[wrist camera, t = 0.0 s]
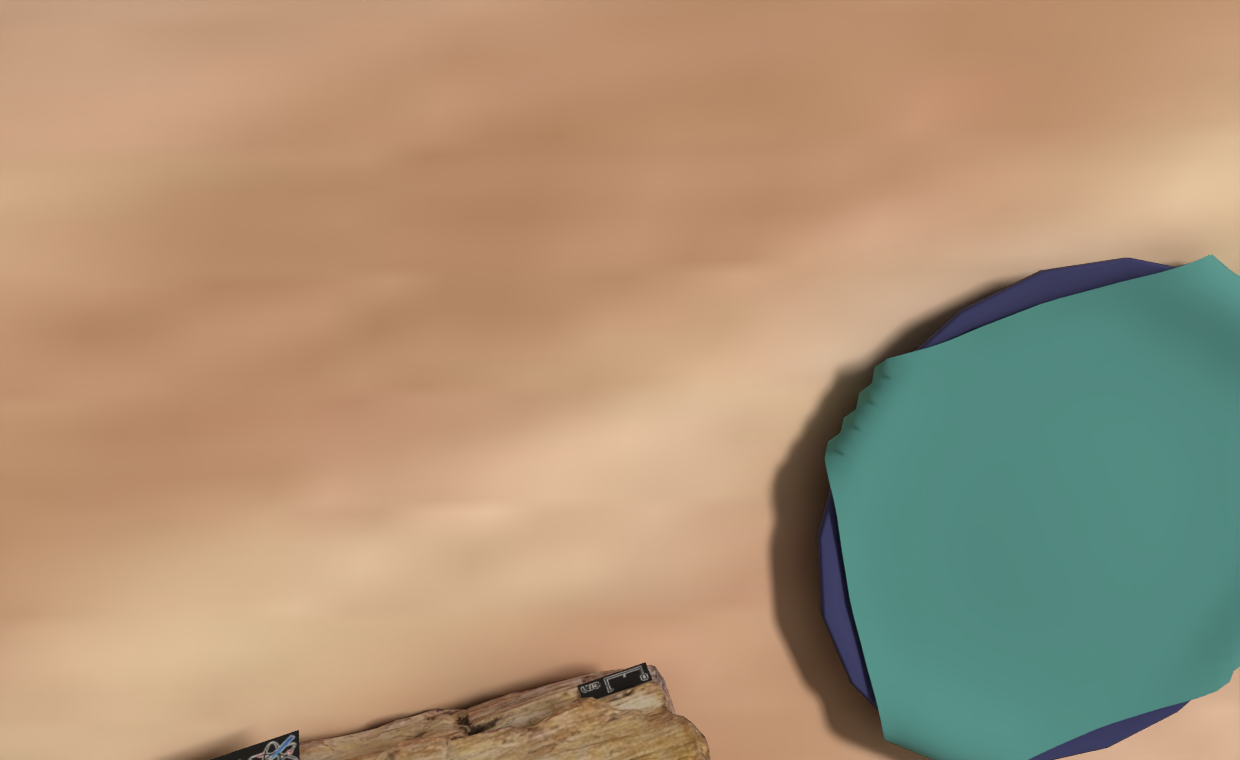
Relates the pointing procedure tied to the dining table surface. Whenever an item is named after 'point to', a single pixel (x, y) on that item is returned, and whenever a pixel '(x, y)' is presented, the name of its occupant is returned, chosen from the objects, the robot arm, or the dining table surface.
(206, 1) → the dining table surface
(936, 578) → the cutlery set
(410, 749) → the petrified wood
